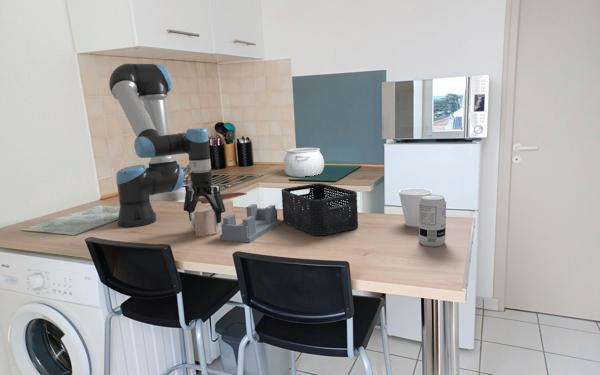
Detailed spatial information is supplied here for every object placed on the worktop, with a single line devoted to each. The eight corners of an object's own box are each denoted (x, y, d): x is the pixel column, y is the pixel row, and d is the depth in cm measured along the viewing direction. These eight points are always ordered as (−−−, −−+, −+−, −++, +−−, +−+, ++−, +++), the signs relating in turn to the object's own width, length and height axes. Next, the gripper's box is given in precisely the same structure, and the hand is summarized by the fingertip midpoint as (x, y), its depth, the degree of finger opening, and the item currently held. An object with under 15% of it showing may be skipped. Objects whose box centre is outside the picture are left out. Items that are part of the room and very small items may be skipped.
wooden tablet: (205, 205, 207) (205, 201, 207) (195, 202, 214) (194, 198, 214) (249, 195, 225) (249, 192, 224) (238, 192, 232) (238, 189, 232)
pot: (325, 177, 264) (324, 150, 261) (282, 179, 265) (281, 152, 262) (323, 170, 292) (322, 146, 289) (285, 171, 293) (283, 148, 290)
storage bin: (280, 220, 172) (278, 188, 169) (320, 212, 181) (319, 181, 178) (317, 238, 147) (315, 200, 144) (362, 228, 156) (361, 192, 153)
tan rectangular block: (196, 235, 156) (193, 212, 155) (225, 221, 174) (224, 199, 173) (205, 236, 155) (202, 212, 153) (234, 221, 173) (232, 200, 171)
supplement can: (414, 239, 140) (415, 195, 137) (439, 238, 141) (439, 193, 138) (423, 248, 132) (424, 201, 129) (449, 246, 133) (450, 199, 130)
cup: (409, 218, 166) (409, 186, 163) (437, 223, 157) (438, 190, 155) (392, 225, 158) (392, 192, 155) (421, 230, 149) (421, 196, 147)
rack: (220, 239, 150) (218, 219, 149) (253, 221, 172) (251, 203, 170) (250, 242, 145) (248, 221, 144) (280, 223, 167) (279, 204, 166)
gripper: (169, 172, 156) (175, 230, 160) (220, 173, 147) (226, 235, 151) (182, 168, 162) (188, 225, 167) (232, 169, 154) (237, 229, 158)
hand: (206, 230), depth 159 cm, fingers open, 9 cm apart
